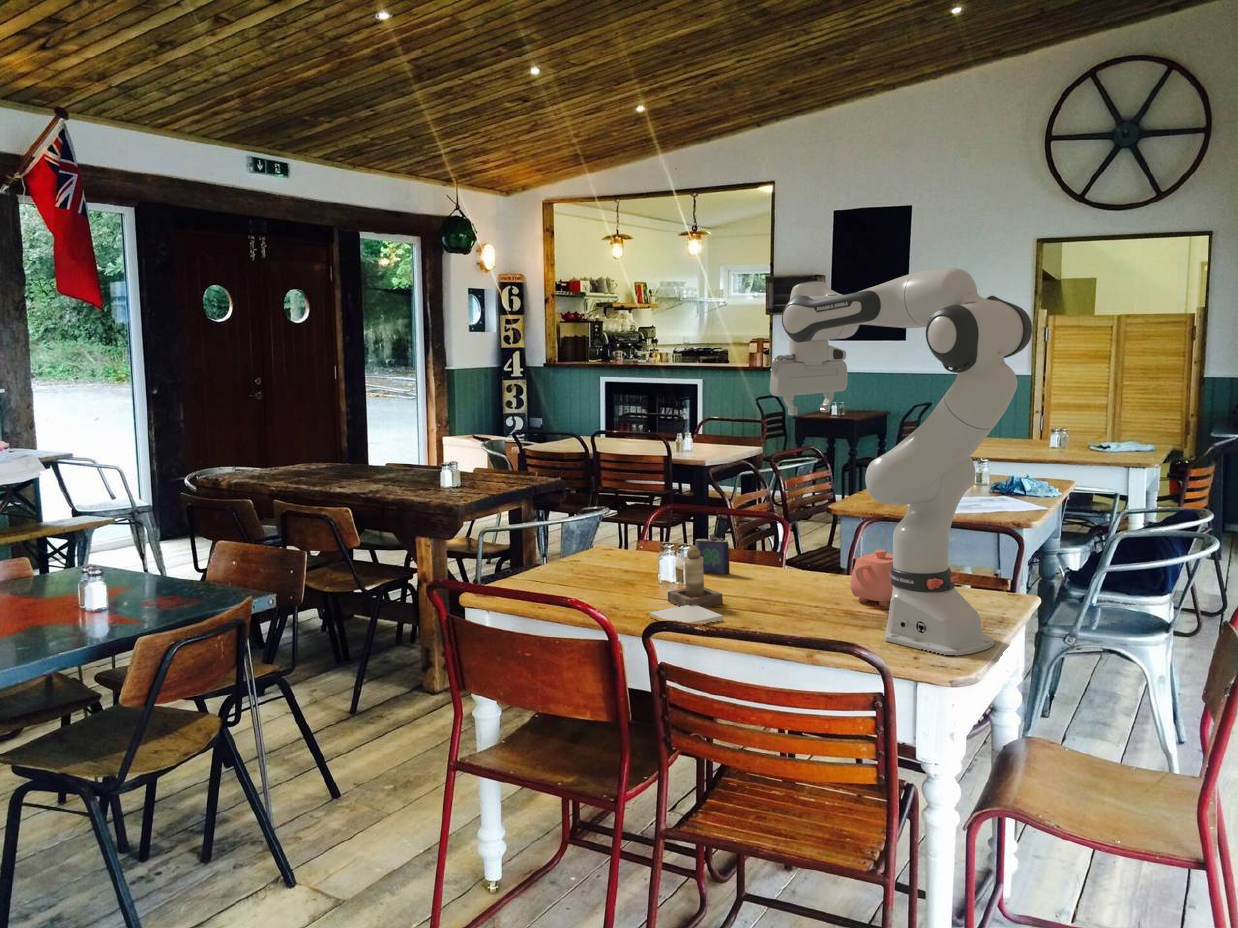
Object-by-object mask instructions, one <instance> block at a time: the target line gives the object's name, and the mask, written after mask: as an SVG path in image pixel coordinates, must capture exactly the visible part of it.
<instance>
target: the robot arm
mask: <svg viewBox="0 0 1238 928" xmlns="http://www.w3.org/2000/svg"><path fill="white" fill-rule="evenodd" d="M977 289H978V288H977V284H976V281H975V279H974V278H973V277H972V275H971V274H970V273H969V272H967V271H966V270H963V269H962V268H956V267H955V268H953V267H952V268H951V267H941V268H939V267H938V268H930V269H924V270H921V271H916V272H912V273H909V274H906V275H902V276H900V277H897V278H894V279H892V280H889V281H886V282H885V281H884V282H883V283H880V284H878V285H877V284H876V285H875V286H872V287H868V288H865V289H863V290H859V291H857V292H852V293H847V294H841V293H838V292H836V291H835V290H833V289H831V288H830V287H829V286H828V284H827V283H826V282H824V281H821V280H810V281H804V282H801V283H798V284H796V285H794V286H793V287H792V289H791V293H790V298H789V301H788V303H786V305H785V307H784V309H783V312H782V314H781V324H782V327H783V330H784V332H785V333H786V334H787V337H789V338H788V344H789V345H788V349H789V353H788V354H786V355H785V354H784V355H783V354H781V355H777V356H776V357H775V358H773V360H772V362H771V372H770V380H769V393H770V394H771V395H772V396H774V397H782V398H783V399H782V400H783V402H784V404H785V406H786V408H787V415H788V416H797V415H798V414H799V413H798V410H799V409H798V407H797V406H795V405H794V402H793V401H794V400H795V396H801V395H813V394H823V397H824V400H823V402H822V403H821V404H819V407H820V409H819V410H820V412H821V413H829V412H830V410H831V404H832V402H833V399H834V398H835V393H837V392H844V391H846V389H847V387H848V377H849V376H848V365H847V363H846V361H844V360H846V359H847V352H846V351H845V350H844V349H842V348H838V347H837V346H832V345H830V344H829V341H830V340H842V339H847V338H850V337H853V336H854V335H855V334H856V333H857V331H858V330H859V329H860V326H861V325H865V326H876V327H878V326H879V327H888V328H890V327H891V328H900V329H901V328H902V329H920V328H925V338H926V343H927V346H928V349H929V350H930V352H931V353H932V354H933V356H934V357H935V358H936V359H937V361H940V362H941V364H942V366H943V368H944V369H945V370H946V371H947V372H950V373H954V374H957V376H956V378H955V380H954V381H953V383H952V384H951V386H950V387H949V388H948V389H947V391H946V393H945V394H944V395H943V397H942V398H941V399H940V400H939V402H938V403H937V404H936V407H935V408H934V409H933V410H932V411H931V413H930V414H929V415H928V417H926V419H925V420H924V421H923V422H922V423H921V424H920V425H919V426H918V427H917V428H915V430H913V432H911V433H910V434H909V435H907V436H906V437H905V438H904V439H903V440H902V441H900V442H899V443H898V444H897V445H895V446H894V447H893V448H892V449H890V450H888V451H886V452H885V453H883V454H882V455H880V456H879V457H876V458H875V459H873V460H872V461H870V463H869V464H868V466H867V468H866V470H865V471H866V472H865V475H864V476H865V478H864V481H865V486H866V489H867V492H868V494H869V496H870V497H871V498H872V499H873V500H874V501H875V502H876V503H878V504H880V505H889V506H897V507H900V506H902V507H903V506H907V505H909V507H908V509H907V511H906V513H905V514H904V516H903V518H902V519H901V520H900V521H899V523H897V524H896V526H895V527H894V529H893V533H892V554H893V566H892V567H891V573H890V576H891V584H892V585H893V589H892V596H891V601H889V605H890V606H889V610H888V619H887V624H886V627H885V629H884V633H885V634H884V640H885V641H886V642H890V643H893V644H898V645H900V646H901V645H902V646H905V647H910V648H913V649H918V650H921V649H923V650H922V651H925V650H927V651H926V652H929V651H932V652H931V653H933V652H936V653H935V654H937V653H940V654H939V655H941V654H944V655H943V656H945V655H955V656H964V655H969V654H976V653H978V652H979V653H980V652H982V651H983V652H984V651H985V650H988V649H990V648H992V647H993V646H994V645H995V639H994V638H992V637H991V636H988V635H987V634H984V633H983V627H982V621H981V616H980V614H979V612H978V611H977V610H976V609H975V608H974V607H973V606H972V605H971V604H970V603H969V602H968V601H967V600H966V598H964V596H963V595H962V594H961V593H960V592H959V591H958V590H957V589H956V583H955V582H959V581H960V579H958V578H959V577H960V575H954V576H953V572H952V571H951V568H950V566H949V555H950V552H949V548H950V533H951V526H952V523H953V519H954V516H955V514H956V512H957V511H956V510H957V509H958V505H959V503H960V502H961V500H962V498H963V497H964V495H965V494H966V492H967V491H968V490H969V489H970V488H971V487H972V486H973V484H974V481H975V478H976V466H975V463H974V461H973V459H972V457H971V456H972V455H973V454H974V453H975V452H976V451H977V450H978V448H979V447H980V445H982V443H983V442H984V440H985V439H986V438H987V437H988V435H989V434H990V433H991V432H992V430H993V429H995V426H996V425H997V424H998V423H999V421H1000V420H1001V418H1002V417H1003V415H1004V414H1005V413H1006V411H1007V410H1008V407H1009V406H1010V404H1011V403H1012V400H1013V398H1014V395H1016V394H1015V393H1016V391H1017V389H1018V384H1019V383H1018V378H1017V375H1016V373H1015V371H1014V370H1013V368H1011V366H1009V365H1008V364H1007V363H1006V361H1005V359H1006V358H1009V357H1013V356H1014V355H1016V354H1018V353H1020V352H1022V351H1023V350H1024V349H1025V348H1026V347H1027V346H1028V345H1029V342H1030V341H1031V337H1032V335H1033V325H1032V324H1033V323H1032V321H1031V318H1030V315H1029V313H1027V312H1026V311H1025V310H1024V308H1022V307H1020V306H1018V305H1016V304H1014V303H1012V302H1009V301H1005V300H1003V299H1001V298H1000V297H997V296H995V295H989V296H988V297H986V298H984V297H982V296H981V295H980V294H979V293H978V290H977Z"/></svg>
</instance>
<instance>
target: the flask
mask: <svg viewBox="0 0 1238 928" xmlns="http://www.w3.org/2000/svg"><path fill="white" fill-rule="evenodd" d="M715 535H716V533H715V532H712V533H710V534H708V536H709V538H708V539H707V538H697V539H695V547H696V548H698V549H699V550H700V556H701V557H703V571H704V574H708V575H713V574H714V575H723V576H726V575H727V576H728V575H730V567H731V565H730V551H729V549H730V547H729V546H730V545H729V541H728V540H727V539H724V538H721V537H720V538H719V537H717V536H715Z"/></svg>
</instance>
